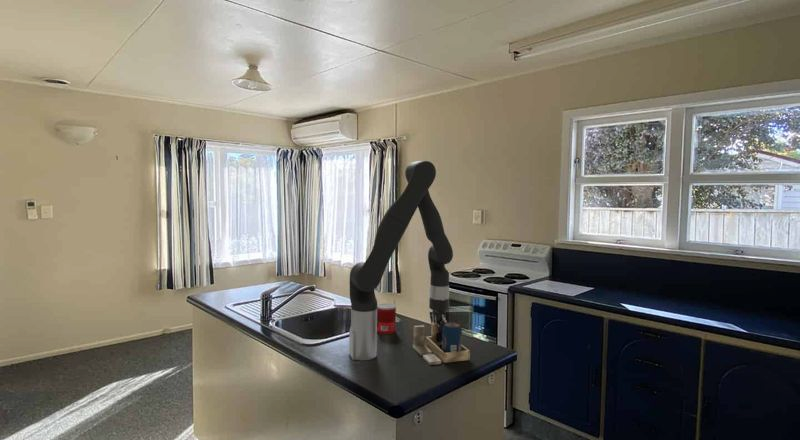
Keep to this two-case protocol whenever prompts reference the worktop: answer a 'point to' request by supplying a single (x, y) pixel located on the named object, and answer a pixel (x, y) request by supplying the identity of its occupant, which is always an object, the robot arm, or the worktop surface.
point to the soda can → (451, 337)
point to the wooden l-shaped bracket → (423, 346)
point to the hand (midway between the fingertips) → (438, 340)
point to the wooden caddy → (443, 356)
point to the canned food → (386, 318)
